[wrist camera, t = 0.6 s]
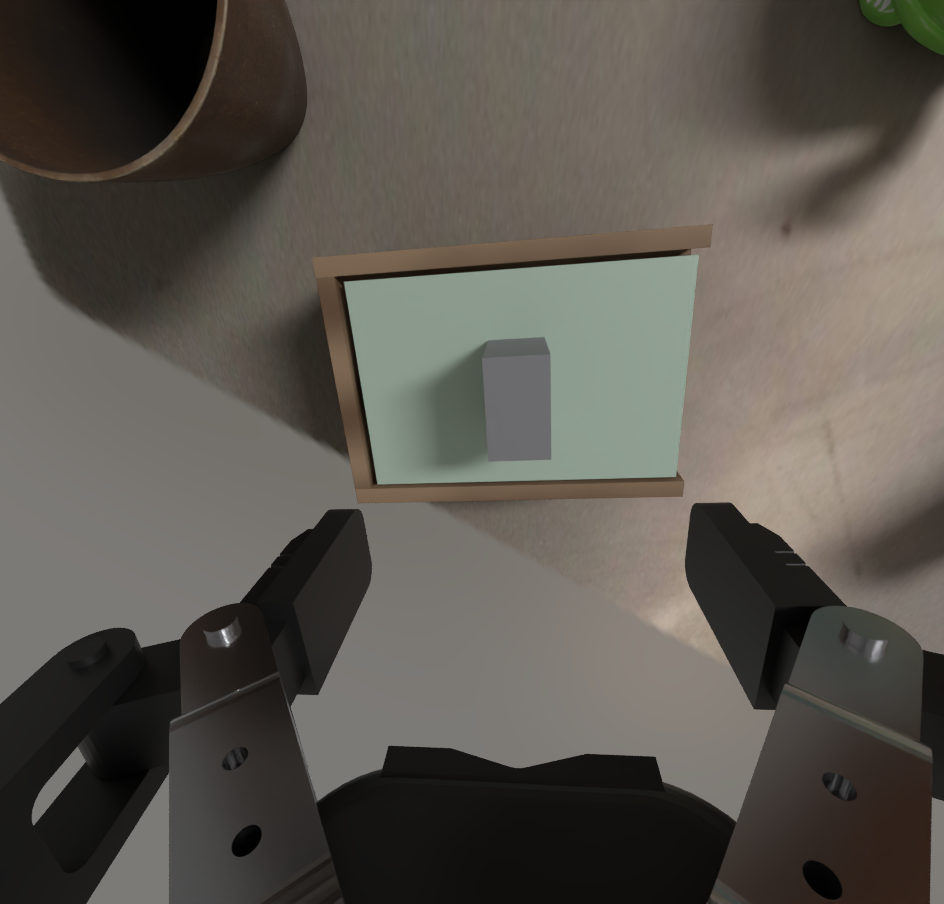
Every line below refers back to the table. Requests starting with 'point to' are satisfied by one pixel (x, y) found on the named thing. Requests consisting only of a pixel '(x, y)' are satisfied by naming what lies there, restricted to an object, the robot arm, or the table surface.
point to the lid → (526, 371)
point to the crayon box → (472, 259)
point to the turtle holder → (910, 18)
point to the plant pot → (147, 87)
